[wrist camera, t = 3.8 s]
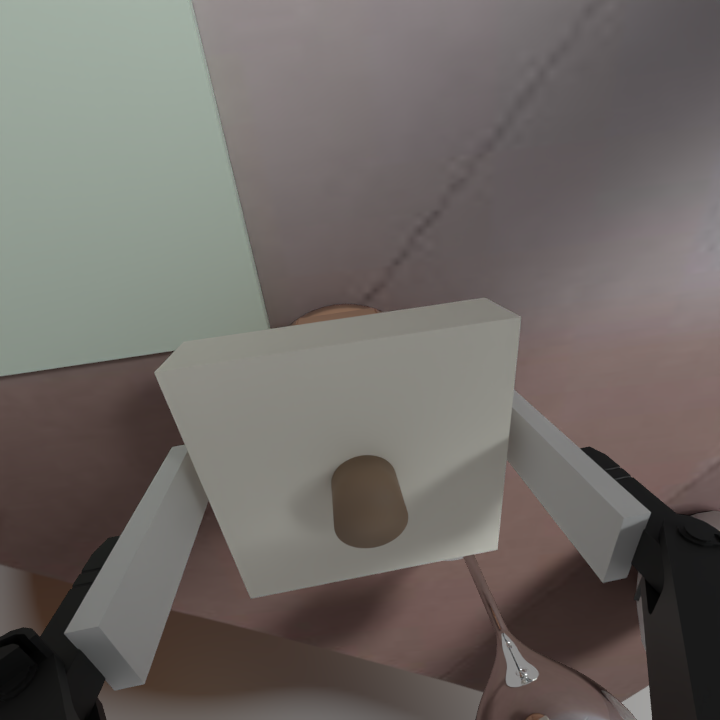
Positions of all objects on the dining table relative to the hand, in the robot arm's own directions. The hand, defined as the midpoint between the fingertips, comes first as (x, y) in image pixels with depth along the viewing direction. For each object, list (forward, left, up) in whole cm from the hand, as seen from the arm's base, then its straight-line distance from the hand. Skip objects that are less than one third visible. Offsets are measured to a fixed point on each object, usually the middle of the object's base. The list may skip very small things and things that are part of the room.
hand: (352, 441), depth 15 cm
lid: (0, 0, 0) cm, 0 cm away
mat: (-11, -11, -5) cm, 16 cm away
